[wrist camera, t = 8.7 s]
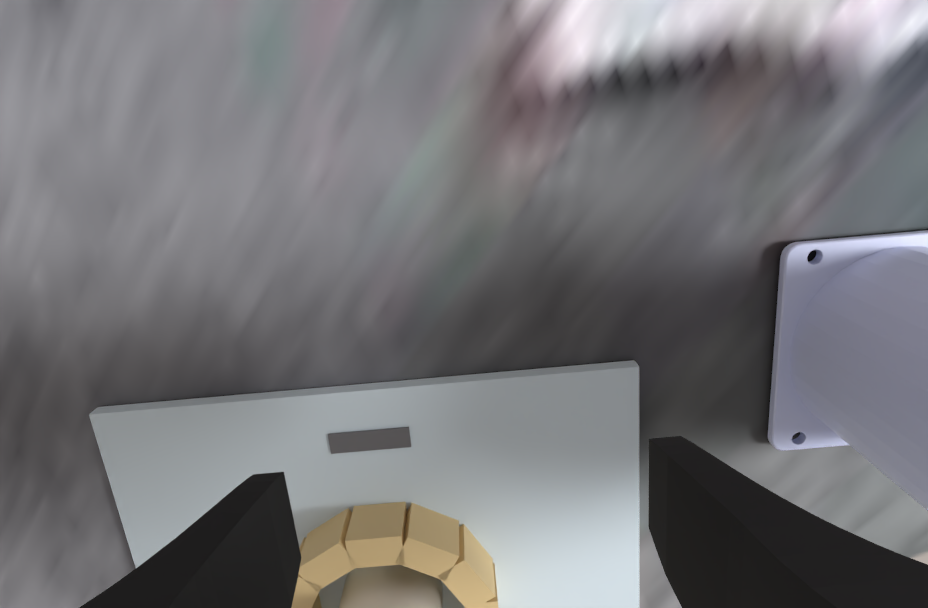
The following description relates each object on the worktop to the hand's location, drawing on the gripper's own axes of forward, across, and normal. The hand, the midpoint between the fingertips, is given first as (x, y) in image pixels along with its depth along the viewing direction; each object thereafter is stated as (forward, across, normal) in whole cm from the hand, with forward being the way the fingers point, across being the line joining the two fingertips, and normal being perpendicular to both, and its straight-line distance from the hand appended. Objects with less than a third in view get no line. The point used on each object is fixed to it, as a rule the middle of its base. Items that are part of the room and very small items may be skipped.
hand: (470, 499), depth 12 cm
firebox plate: (+10, +4, +11) cm, 16 cm away
